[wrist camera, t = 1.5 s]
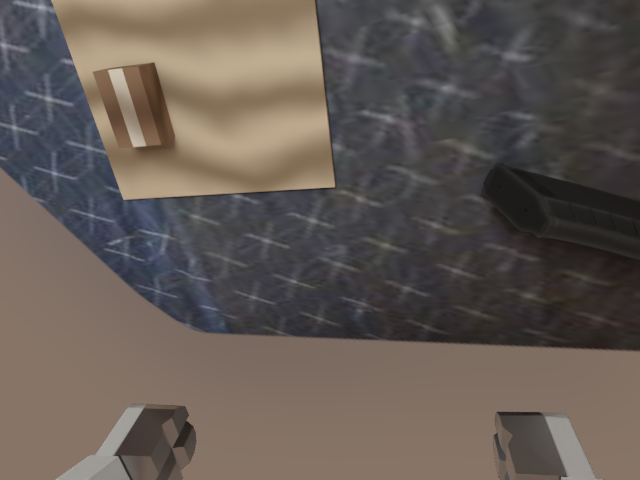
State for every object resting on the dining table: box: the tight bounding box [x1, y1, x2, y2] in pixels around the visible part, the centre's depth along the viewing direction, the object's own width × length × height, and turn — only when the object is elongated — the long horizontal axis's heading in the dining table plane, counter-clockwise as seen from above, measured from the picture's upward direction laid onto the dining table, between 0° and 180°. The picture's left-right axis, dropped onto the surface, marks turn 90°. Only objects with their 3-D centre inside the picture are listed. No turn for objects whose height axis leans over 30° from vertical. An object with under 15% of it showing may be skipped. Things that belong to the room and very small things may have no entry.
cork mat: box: [51, 0, 336, 200], centre depth 41 cm, size 20×24×1 cm
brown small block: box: [93, 63, 175, 148], centre depth 41 cm, size 7×4×3 cm, turn 7°
